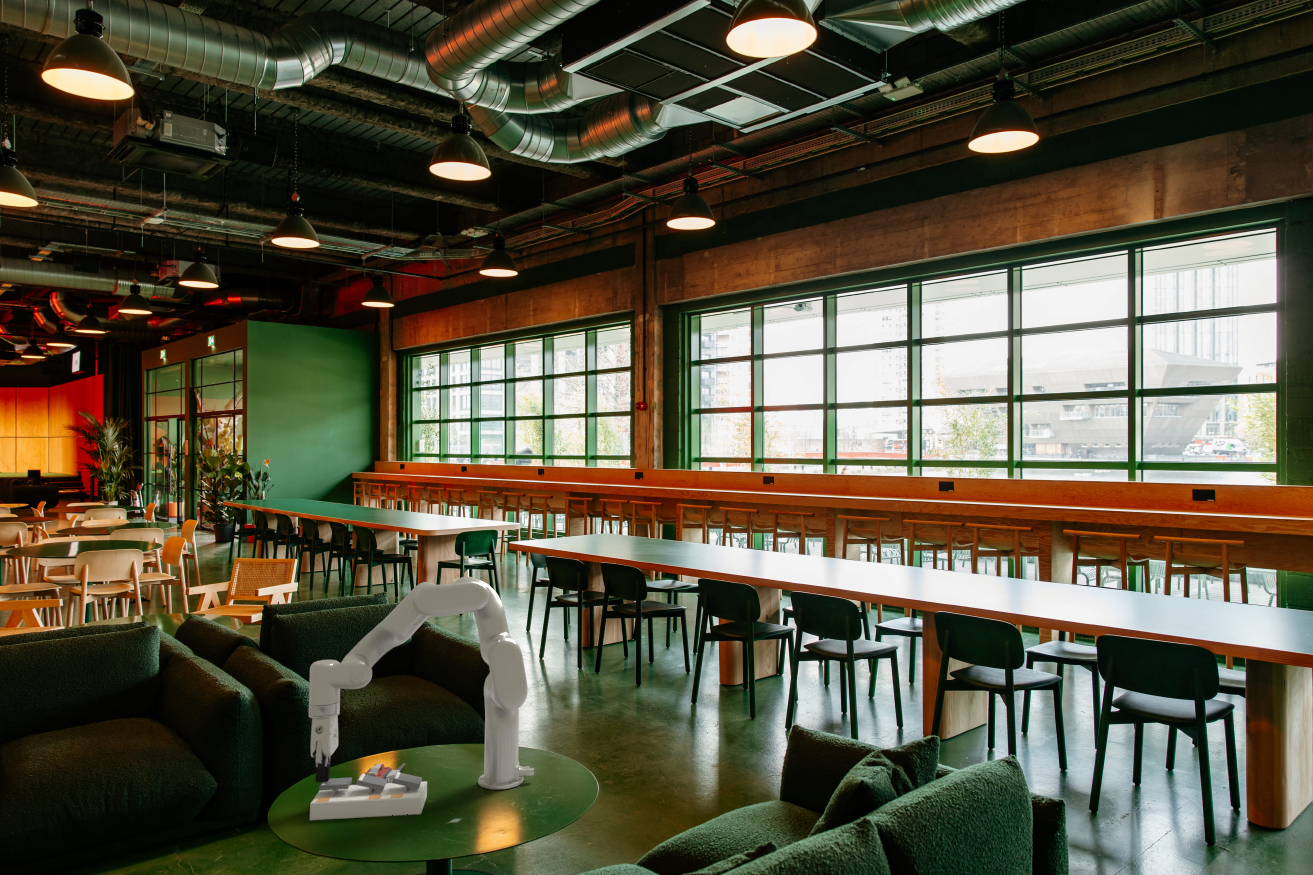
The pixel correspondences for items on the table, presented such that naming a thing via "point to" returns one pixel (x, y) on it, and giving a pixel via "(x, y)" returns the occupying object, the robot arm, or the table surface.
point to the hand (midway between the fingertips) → (322, 780)
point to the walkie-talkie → (384, 772)
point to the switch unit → (368, 802)
